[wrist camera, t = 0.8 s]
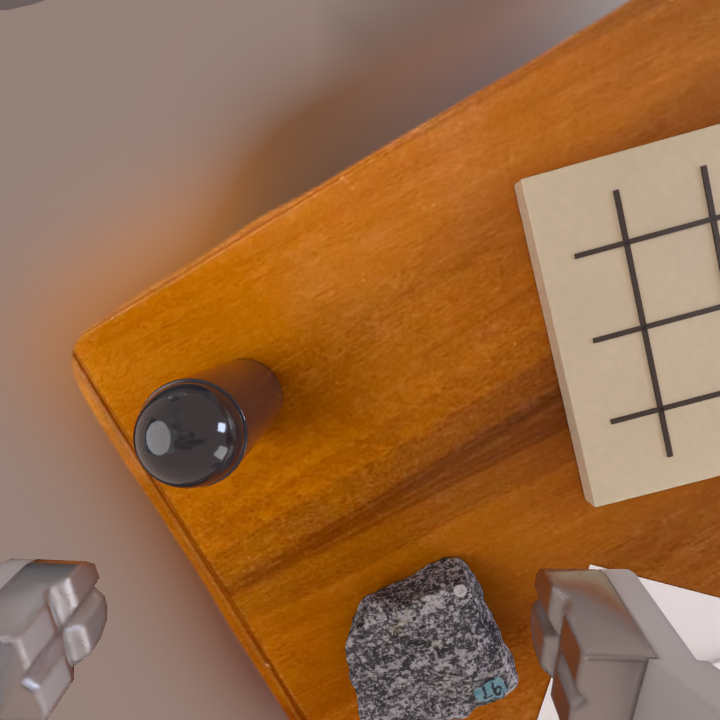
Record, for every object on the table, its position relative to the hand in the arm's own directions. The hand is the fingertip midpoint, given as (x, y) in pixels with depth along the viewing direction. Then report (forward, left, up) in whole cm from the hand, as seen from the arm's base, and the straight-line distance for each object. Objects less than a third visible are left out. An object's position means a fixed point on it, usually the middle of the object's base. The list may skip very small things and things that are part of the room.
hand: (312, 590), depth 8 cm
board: (0, +23, -19) cm, 30 cm away
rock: (+16, +1, -19) cm, 25 cm away
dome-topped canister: (-2, -6, -19) cm, 20 cm away
